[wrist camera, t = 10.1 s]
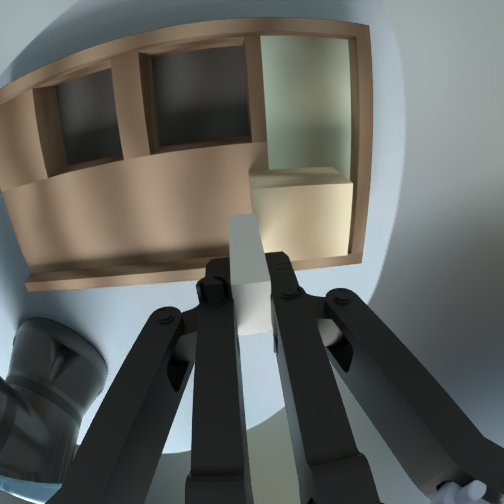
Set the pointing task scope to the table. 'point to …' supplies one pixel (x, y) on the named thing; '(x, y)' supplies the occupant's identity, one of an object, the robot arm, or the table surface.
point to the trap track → (178, 144)
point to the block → (302, 211)
